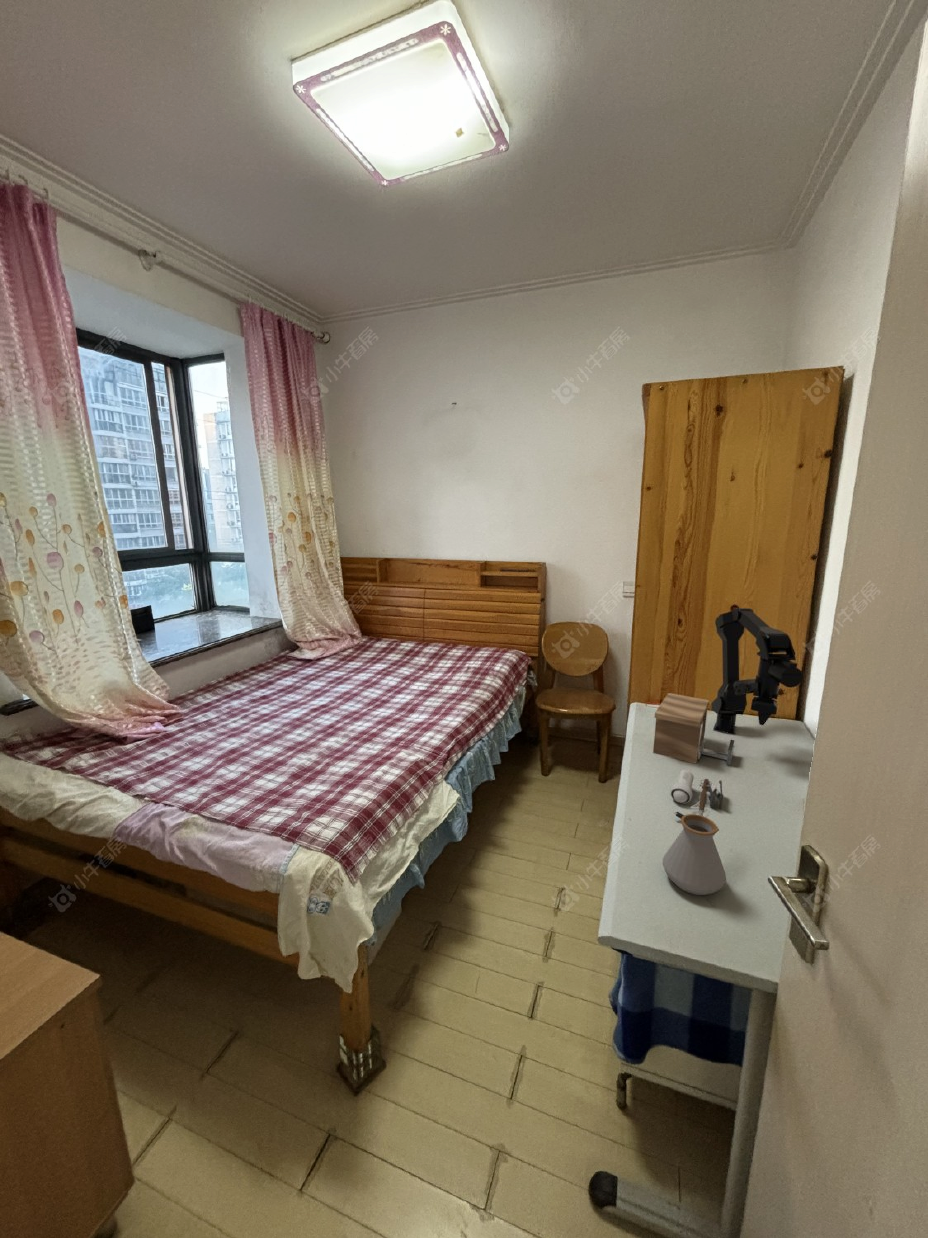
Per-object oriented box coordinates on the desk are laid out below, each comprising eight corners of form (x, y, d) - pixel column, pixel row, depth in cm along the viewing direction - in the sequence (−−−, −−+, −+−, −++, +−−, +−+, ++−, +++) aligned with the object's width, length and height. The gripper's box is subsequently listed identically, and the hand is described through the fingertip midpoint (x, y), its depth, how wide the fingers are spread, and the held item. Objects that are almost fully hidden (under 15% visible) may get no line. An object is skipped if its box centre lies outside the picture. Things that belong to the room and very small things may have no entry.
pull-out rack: (673, 738, 161) (675, 725, 160) (733, 752, 152) (734, 738, 151) (667, 752, 152) (668, 738, 151) (729, 767, 143) (731, 752, 142)
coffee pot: (722, 912, 92) (732, 839, 89) (656, 888, 97) (663, 820, 94) (728, 846, 110) (736, 784, 107) (672, 830, 115) (678, 770, 112)
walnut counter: (664, 732, 167) (668, 692, 164) (704, 741, 161) (709, 700, 158) (650, 756, 151) (654, 712, 148) (694, 767, 144) (699, 722, 141)
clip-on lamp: (713, 843, 116) (723, 792, 130) (718, 823, 113) (728, 773, 127) (660, 822, 121) (675, 776, 135) (664, 803, 119) (679, 758, 132)
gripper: (740, 661, 156) (733, 707, 160) (734, 678, 141) (727, 729, 145) (782, 667, 151) (774, 715, 154) (780, 686, 135) (772, 739, 139)
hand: (761, 724), depth 148 cm, fingers closed
